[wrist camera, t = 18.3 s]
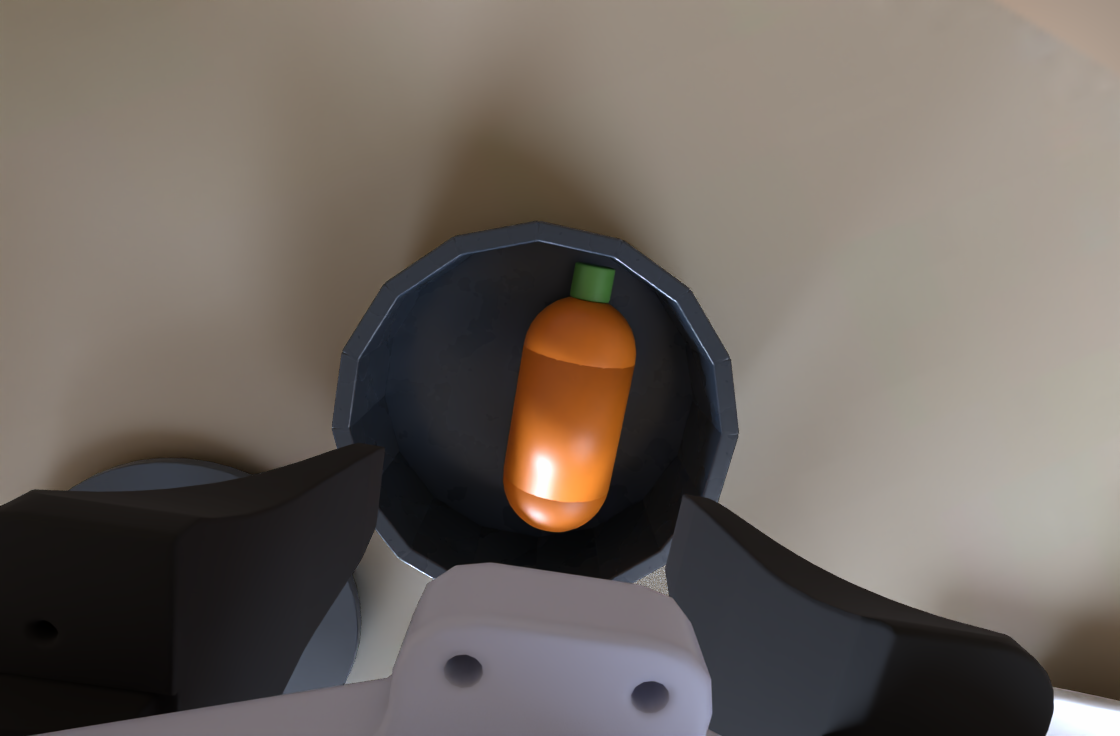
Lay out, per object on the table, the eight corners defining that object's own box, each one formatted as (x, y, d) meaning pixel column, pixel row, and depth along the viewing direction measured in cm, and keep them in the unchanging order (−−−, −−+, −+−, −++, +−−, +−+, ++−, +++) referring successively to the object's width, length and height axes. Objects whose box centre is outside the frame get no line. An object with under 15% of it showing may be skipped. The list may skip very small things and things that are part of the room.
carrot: (562, 494, 24) (620, 543, 21) (477, 505, 22) (528, 562, 19) (606, 264, 22) (678, 280, 19) (517, 250, 20) (581, 266, 17)
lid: (400, 708, 26) (368, 805, 22) (108, 754, 27) (19, 858, 22) (316, 425, 23) (259, 470, 19) (-14, 482, 24) (-146, 541, 19)
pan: (718, 513, 24) (755, 574, 20) (419, 563, 25) (390, 633, 20) (679, 198, 21) (712, 188, 17) (339, 260, 22) (284, 267, 17)
